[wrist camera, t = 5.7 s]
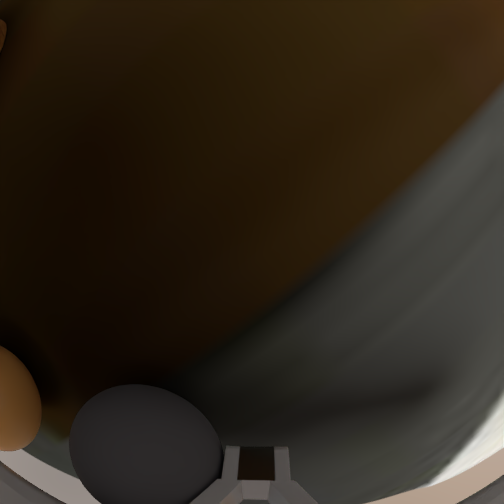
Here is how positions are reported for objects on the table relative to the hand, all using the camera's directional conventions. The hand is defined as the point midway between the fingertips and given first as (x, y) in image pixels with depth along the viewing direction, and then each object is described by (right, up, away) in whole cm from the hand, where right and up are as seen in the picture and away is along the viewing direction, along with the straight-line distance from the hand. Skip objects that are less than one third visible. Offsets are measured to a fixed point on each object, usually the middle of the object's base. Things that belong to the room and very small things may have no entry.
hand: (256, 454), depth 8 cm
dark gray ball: (-4, 0, -1) cm, 4 cm away
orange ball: (-13, 0, -1) cm, 13 cm away
